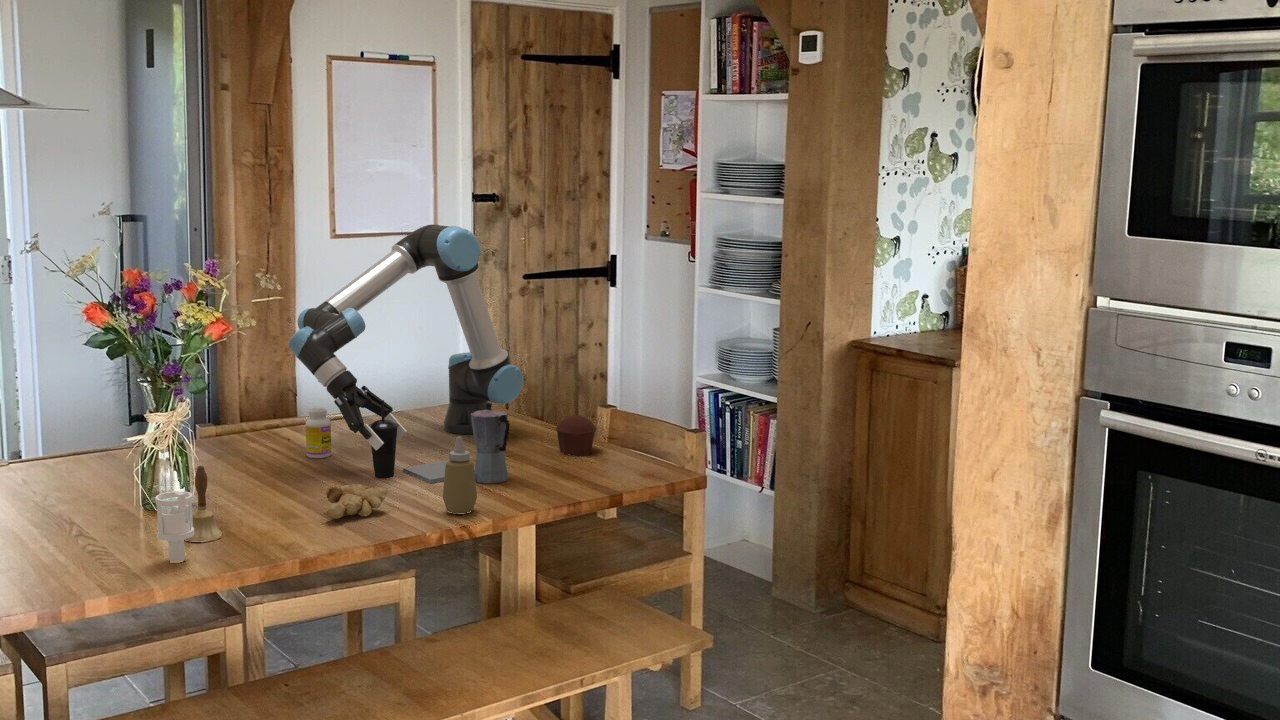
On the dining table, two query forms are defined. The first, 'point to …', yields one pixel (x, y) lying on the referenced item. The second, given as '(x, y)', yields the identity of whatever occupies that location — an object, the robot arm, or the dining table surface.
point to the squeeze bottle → (459, 481)
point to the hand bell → (203, 512)
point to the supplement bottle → (318, 434)
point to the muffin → (575, 435)
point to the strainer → (175, 521)
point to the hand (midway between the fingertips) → (391, 440)
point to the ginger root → (353, 500)
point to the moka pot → (490, 444)
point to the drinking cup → (384, 446)
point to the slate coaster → (428, 471)
